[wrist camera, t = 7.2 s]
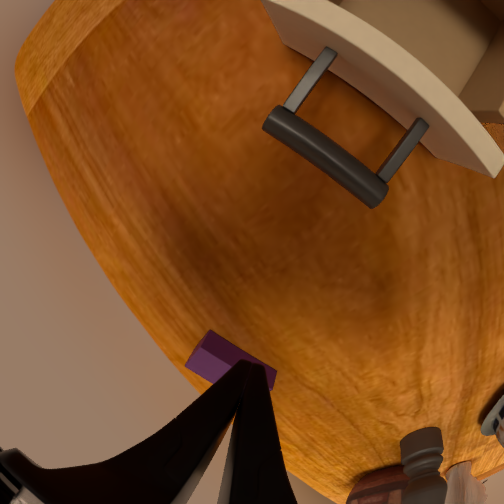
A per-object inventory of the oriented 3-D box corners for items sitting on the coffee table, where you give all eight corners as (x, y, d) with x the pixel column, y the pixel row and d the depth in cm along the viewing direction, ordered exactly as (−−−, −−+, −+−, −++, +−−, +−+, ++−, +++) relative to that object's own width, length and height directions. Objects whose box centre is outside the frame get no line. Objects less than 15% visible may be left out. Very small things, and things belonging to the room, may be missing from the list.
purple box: (277, 370, 25) (272, 389, 22) (255, 386, 26) (250, 404, 24) (209, 329, 24) (200, 347, 22) (193, 349, 26) (184, 366, 24)
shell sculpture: (466, 467, 30) (470, 532, 14) (435, 475, 32) (435, 544, 16) (483, 451, 26) (491, 523, 11) (451, 461, 29) (454, 538, 13)
